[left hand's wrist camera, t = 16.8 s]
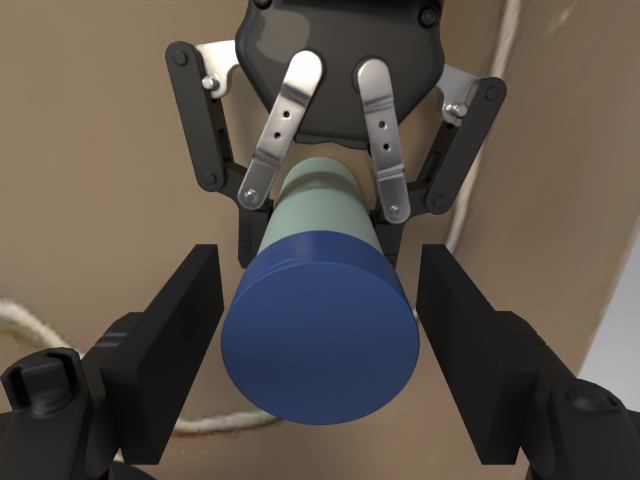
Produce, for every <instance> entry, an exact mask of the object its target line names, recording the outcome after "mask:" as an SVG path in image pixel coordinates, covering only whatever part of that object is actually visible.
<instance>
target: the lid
mask: <svg viewBox="0 0 640 480" xmlns="http://www.w3.org/2000/svg"><path fill="white" fill-rule="evenodd" d="M419 346H420V343H419V331H418V327H417V323H416V320H415V317H414V315H413V312H412V310H411V307H410V305H409V302H408V300H407V297H406V295H405V293H404V290H403V288H402V285H401V283H400V280H399V278H398V275H397V273H396V272H395V270H394V268H393V266H392V265H391V264H390V263H389V261H388V260H387V259H386V258H385V257H384V256H383V255H382V254H381V253H380V252H379V251H378V250H377V249H375V248H374V247H373V246H371V245H370V244H368V243H366V242H365V241H363V240H361V239H359V238H356V237H354V236H351V235H348V234H344V233H340V232H335V231H327V230H314V231H306V232H300V233H296V234H292V235H289V236H287V237H284V238H282V239H279V240H278V241H276V242H274V243H272V244H270V245H269V246H268V247H266V248H265V249H264V250H262V251H261V252H260V253H259V254H258V255H257V256H256V257H255V258H254V259H253V260H252V262H251V263H250V264H249V266H248V267H247V269H246V271H245V272H244V274H243V276H242V279H241V281H240V284H239V286H238V289H237V291H236V293H235V296H234V298H233V301H232V303H231V306H230V308H229V311H228V313H227V316H226V319H225V321H224V324H223V329H222V334H221V351H222V357H223V361H224V365H225V368H226V370H227V372H228V374H229V377H230V378H231V380H232V381H233V383H234V384H235V386H236V387H237V388H238V390H239V391H240V392H241V393H242V394H243V395H244V396H245V397H246V398H247V399H248V400H249V401H250V402H252V403H253V404H255V405H256V406H257V407H259V408H260V409H262V410H264V411H266V412H267V413H269V414H272V415H274V416H276V417H279V418H281V419H285V420H288V421H291V422H296V423H301V424H310V425H331V424H339V423H344V422H349V421H353V420H356V419H359V418H362V417H364V416H367V415H369V414H371V413H373V412H375V411H377V410H378V409H380V408H382V407H383V406H384V405H386V404H387V403H389V402H390V401H391V400H392V399H393V398H394V397H395V396H397V395H398V394H399V392H400V391H401V390H402V389H403V388H404V386H405V385H406V384H407V382H408V380H409V379H410V377H411V375H412V373H413V371H414V369H415V366H416V363H417V359H418V355H419Z"/></svg>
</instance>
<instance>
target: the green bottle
mask: <svg viewBox="0 0 640 480" xmlns="http://www.w3.org/2000/svg"><path fill="white" fill-rule="evenodd" d="M314 230H327V231H335V232H340V233H344V234H348V235H351V236H354V237H356V238H359V239H361V240H363V241H365V242H366V243H368V244H370V245H371V246H373V247H374V248H375V249H377V250H378V251H379V252H380V253H381V254H382V255H383V252H382V249H381V247H380V244H379V241H378V239H377V236H376V233H375V231H374V228H373V225H372V223H371V220H370V217H369V215H368V212H367V209H366V207H365V204H364V201H363V199H362V196H361V193H360V191H359V188H358V185H357V183H356V180H355V178H354V176H353V174H352V173H351V171H350V170H349V169H348V168H347V167H346V166H345V165H343V164H342V163H341V162H339V161H337V160H334V159H332V158H327V157H313V158H309V159H306V160H304V161H301V162H300V163H298V164H297V165H296V166H294V167H293V168H292V169H291V171H290V172H289V173H288V175H287V176H286V178H285V180H284V183H283V186H282V189H281V191H280V194H279V197H278V199H277V202H276V205H275V207H274V210H273V213H272V215H271V218H270V221H269V224H268V226H267V229H266V232H265V234H264V237H263V240H262V242H261V245H260V248H259V250H258V253H257V255H258V254H259V253H260V252H261V251H262V250H264V249H265V248H266V247H268V246H269V245H270V244H272V243H274V242H276V241H278V240H279V239H282V238H284V237H287V236H289V235H292V234H296V233H300V232H306V231H314ZM383 256H384V255H383Z"/></svg>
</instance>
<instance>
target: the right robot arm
mask: <svg viewBox="0 0 640 480" xmlns="http://www.w3.org/2000/svg"><path fill="white" fill-rule="evenodd" d="M443 5H444V0H249V2H248V8H247V11H246V15H245V17H244V20H243V22H242V24H241V25H240V27H239V29H238V31H237V33H236V36H235V40H229V41H222V42H216V43H209V44H203V45H192V44H189V43H186V42H182V41H175V42H173V43H171V44H170V45H169V46H168V47H167V50H166V54H165V58H166V63H167V67H168V71H169V74H170V78H171V82H172V86H173V90H174V94H175V98H176V102H177V105H178V109H179V113H180V117H181V121H182V125H183V129H184V133H185V136H186V140H187V144H188V148H189V152H190V156H191V160H192V164H193V167H194V171H195V175H196V179H197V182H198V184H199V186H200V187H201V188H202V189H204V190H205V191H208V192H215V191H217V192H219V193H221V194H224V195H226V196H228V197H230V198H231V199H233V200H234V201H235V202H236V204H237V206H238V208H239V242H238V247H239V248H238V260H239V262H240V265H241V267H242V268H244V269H247V267H248V266H249V264H250V263H251V262H252V260H253V259H254V258H255V257H256V256H257V253H258V250H259V248H260V245H261V242H262V240H263V237H264V234H265V232H266V229H267V226H268V224H269V221H270V218H271V215H272V213H273V204H274V200H273V199H269V196H270V189H271V186H272V184H273V182H274V180H275V178H276V175H277V173H278V171H279V169H280V166H281V164H282V162H283V160H284V158H285V156H286V153H287V151H288V149H289V147H290V145H291V142H292V140H295V142H294V143H302V144H311V145H313V144H319V143H325V142H334V143H337V144H339V145H342V146H344V147H347V148H350V149H360V150H365V151H366V156H367V160H368V164H369V167H370V171H371V175H372V180H373V185H374V190H375V194H376V199H377V200H376V206H375V210H371V209H370V213H369V217H370V220H371V223H372V225H373V228H374V231H375V233H376V236H377V239H378V241H379V244H380V247H381V249H382V252H383V255H384V257H385V258H386V259H387V260H388V261H389V263H390V264H391V265H392V266H393V268H394V270H395V268H396V262H397V257H398V252H399V247H400V242H401V236H402V231H403V227H404V225H405V223H406V222H407V221H408V220H409V219H410V218H412V217H414V216H416V215H420V214H425V213H429V212H430V213H432V214H435V215H440V214H443V213H445V212H447V211H448V210H449V209H450V208H451V206H452V204H453V202H454V200H455V198H456V196H457V194H458V192H459V190H460V188H461V186H462V184H463V182H464V180H465V178H466V176H467V174H468V172H469V170H470V168H471V166H472V164H473V162H474V160H475V158H476V156H477V154H478V152H479V150H480V148H481V145H482V143H483V141H484V139H485V137H486V135H487V133H488V131H489V129H490V127H491V125H492V123H493V121H494V119H495V117H496V115H497V113H498V111H499V109H500V107H501V105H502V103H503V101H504V99H505V97H506V93H507V88H506V85H505V83H504V81H503V80H501V79H500V78H497V77H478V76H475V75H473V74H470V73H468V72H465V71H463V70H460V69H458V68H455V67H453V66H450V65H448V64H445V57H444V52H443V49H442V46H441V42H440V33H439V27H440V19H441V14H442V10H443ZM239 66H241V68H242V70H243V71H244V73H245V75H246V76H247V78H248V80H249V81H250V83H251V85H252V86H253V88H254V90H255V91H256V93H257V95H258V96H259V98H260V100H261V101H262V103H263V105H264V106H265V108H266V110H267V111H268V113H269V117H268V120H267V122H266V124H265V127H264V129H263V132H262V134H261V136H260V139H259V141H258V143H257V146H256V148H255V151H254V154H253V158H252V160H251V163H250V165H249V167H248V169H247V168H245V167H243V166H241V165H239V164H237V163H235V162H234V158H233V153H232V148H231V144H230V139H229V135H228V130H227V125H226V121H225V116H224V112H223V107H222V102H221V98H222V97H225V96H226V95H228V93H229V92H230V90H231V85H232V84H231V77H232V74H233V72H234V70H235V69H236V68H238V67H239ZM433 88H434V89H435V91H436V92H437V95H438V103H437V106H436V114H437V116H438V118H439V119H440V120H441V121H443V122H442V124H441V126H440V129H439V131H438V133H437V135H436V138H435V140H434V142H433V144H432V147H431V149H430V151H429V153H428V155H427V158H426V160H425V162H424V164H423V167H422V169H421V171H420V173H419V175H418V178H417V180H416V181H414V182H410V183H406V181H405V175H404V170H405V164H404V158H403V153H402V147H401V141H400V136H399V130H398V125H399V124H400V123H401V122H402V121H403V120H404V119H405V118H406V117H407V116H408V115H409V113H410V112H411V111H412V110H413V109H414V108H415V107H416V106H417V105H418V104H419V103H420V102H421V101H422V100H423V98H424V97H425V96H426V95H427V94H428V93H429V92H430V91H431V90H432V89H433Z"/></svg>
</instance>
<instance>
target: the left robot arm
mask: <svg viewBox="0 0 640 480" xmlns="http://www.w3.org/2000/svg"><path fill="white" fill-rule="evenodd" d="M223 311H224V302H223V292H222V283H221V274H220V265H219V256H218V246H217V244H196V245H195V247H194V248H193V249H192V251H191V252H190V253H189V254H188V256H187V257H186V258H185V260H184V261H183V262H182V263H181V265H180V266H179V267H178V269H177V270H176V271H175V272H174V274H173V275H172V276H171V278H170V279H169V280H168V282H167V283H166V284H165V285H164V287H163V288H162V289H161V291H160V292H159V293H158V294H157V296H156V297H155V298H154V300H153V301H152V302H151V303H150V305H149V306H148V307H147V309H146V310H145V311H144V312H129V313H128V314H126V315H125V316H123V317H121V318H120V319H118V320H117V321H115V322H114V323H113V324H112V325H111V326H110V327H109V328H108V330H107V331H106V332H105V333H104V334H103V337H101V338H100V339H99V340H98V341H97V342H96V343H95V346H94V347H92V348H91V349H90V350H89V351H88V353H87V354H86V355H85V356H84V357H83V358H82V359H81V360H80V356H79V353H78V352H76V351H75V350H74V349H71V348H64V347H59V348H49V349H46V350H42V351H39V352H35V353H33V354H30V355H28V356H26V357H24V358H22V359H20V360H18V361H17V362H15V363H14V364H13V365H11V366H10V367H8V368H7V369H6V371H5V372H4V373H3V374H2V375H1V377H0V379H1V381H2V384H3V386H4V389H5V391H6V394H7V397H8V399H9V402H10V404H11V407H12V409H13V411H11V412H7V413H3V414H0V480H114V477H113V471H112V467H111V462H112V461H113V459H114V457H115V455H116V453H117V452H118V450H119V448H121V452H122V455H123V459H124V463H125V465H158V464H159V461H160V459H161V457H162V454H163V452H164V450H165V447H166V445H167V443H168V440H169V438H170V436H171V433H172V431H173V428H174V426H175V424H176V421H177V419H178V417H179V414H180V412H181V410H182V407H183V405H184V403H185V400H186V398H187V396H188V393H189V391H190V389H191V386H192V384H193V382H194V379H195V377H196V375H197V372H198V370H199V368H200V365H201V363H202V361H203V358H204V356H205V353H206V351H207V349H208V346H209V344H210V342H211V339H212V337H213V335H214V332H215V330H216V328H217V325H218V323H219V321H220V318H221V316H222V314H223ZM416 311H417V314H418V316H419V318H420V321H421V323H422V325H423V328H424V330H425V332H426V335H427V337H428V339H429V342H430V344H431V346H432V349H433V351H434V353H435V356H436V358H437V361H438V363H439V365H440V368H441V370H442V372H443V375H444V377H445V379H446V382H447V384H448V386H449V389H450V391H451V393H452V396H453V398H454V400H455V403H456V405H457V407H458V410H459V412H460V414H461V417H462V419H463V421H464V424H465V426H466V428H467V431H468V433H469V436H470V438H471V440H472V443H473V445H474V447H475V450H476V452H477V454H478V457H479V459H480V461H481V464H482V465H515V463H516V459H517V455H518V452H519V448H520V446H521V448H522V450H523V451H524V453H525V455H526V457H527V459H528V460H529V462H530V464H529V467H528V471H527V474H526V478H525V480H640V412H636V411H631V410H628V409H626V407H625V406H624V405H623V403H622V402H621V400H620V399H618V398H617V397H616V396H615V395H613V394H612V393H611V392H610V391H608V390H606V389H604V388H603V387H601V386H599V385H597V384H595V383H592V382H589V381H586V380H583V379H577V378H576V377H575V376H574V375H573V374H572V372H571V371H570V370H569V369H568V368H567V367H566V366H565V364H564V363H563V362H562V361H561V360H560V359H559V358H558V356H557V355H556V354H555V353H554V352H553V351H552V350H551V348H550V347H549V346H548V345H546V343H545V342H544V340H543V339H542V338H541V337H540V336H539V335H537V332H536V331H535V330H534V329H533V328H532V327H531V326H530V324H529V323H528V322H527V321H526V320H524V319H522V318H521V317H519V316H518V315H516V314H515V313H513V312H511V311H495V310H494V309H493V307H492V306H491V305H490V303H489V302H488V301H487V300H486V298H485V297H484V296H483V294H482V293H481V292H480V291H479V289H478V288H477V287H476V285H475V284H474V283H473V282H472V280H471V279H470V278H469V276H468V275H467V274H466V272H465V271H464V270H463V269H462V267H461V266H460V265H459V263H458V262H457V261H456V260H455V258H454V257H453V256H452V254H451V253H450V252H449V251H448V249H447V248H446V247H445V245H444V244H423V246H422V256H421V265H420V274H419V283H418V292H417V302H416Z"/></svg>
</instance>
